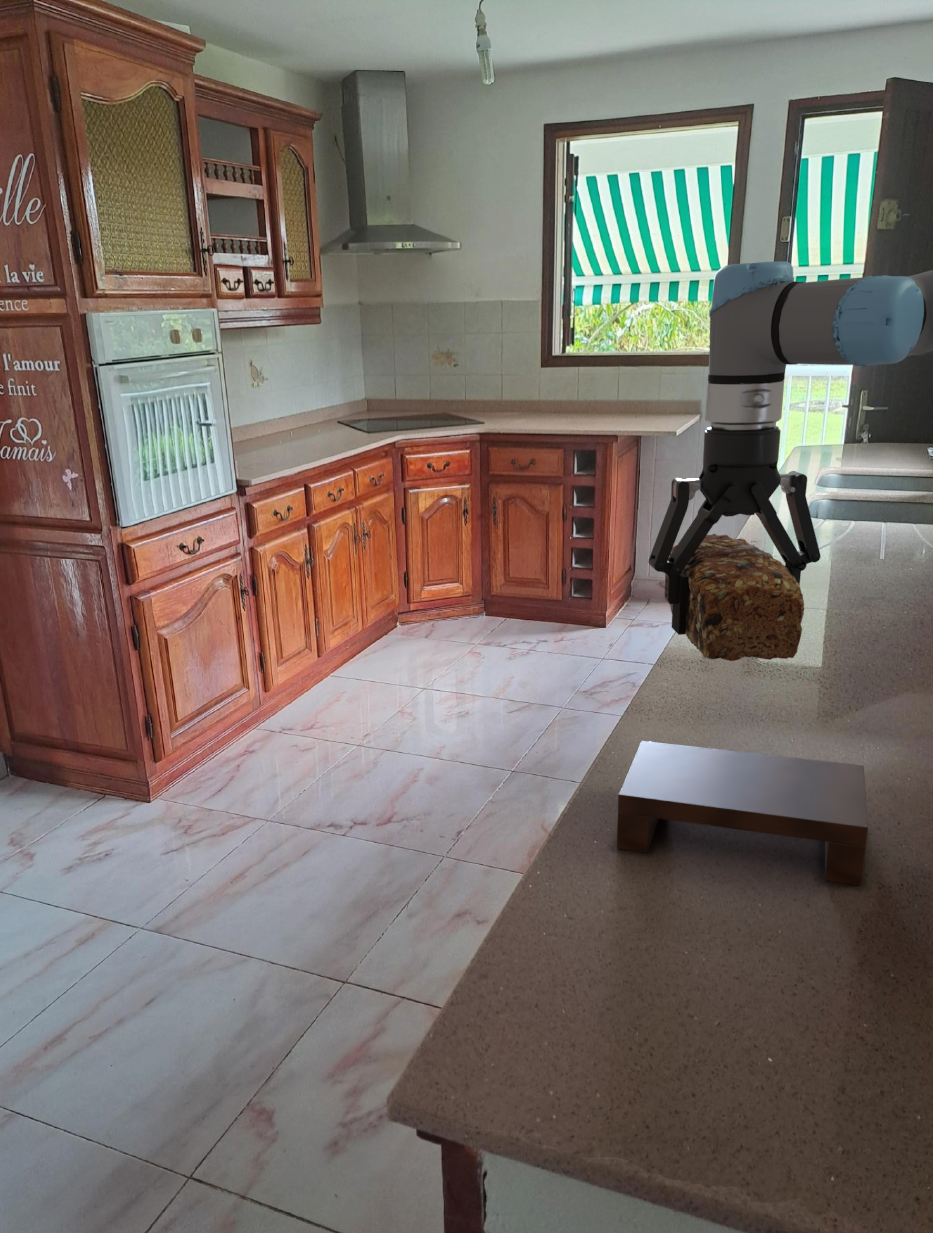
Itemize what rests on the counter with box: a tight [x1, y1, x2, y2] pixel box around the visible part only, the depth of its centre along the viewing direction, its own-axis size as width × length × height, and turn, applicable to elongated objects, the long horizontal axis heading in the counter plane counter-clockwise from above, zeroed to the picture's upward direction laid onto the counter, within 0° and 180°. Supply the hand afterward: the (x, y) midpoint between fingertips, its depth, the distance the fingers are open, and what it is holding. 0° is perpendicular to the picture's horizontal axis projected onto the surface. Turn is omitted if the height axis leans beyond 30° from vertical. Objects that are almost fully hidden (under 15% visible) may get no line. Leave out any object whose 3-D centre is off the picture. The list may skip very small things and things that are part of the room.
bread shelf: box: [616, 740, 869, 887], centre depth 95 cm, size 22×13×6 cm, turn 69°
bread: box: [669, 533, 805, 662], centre depth 106 cm, size 19×11×10 cm, turn 178°
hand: (729, 627), depth 107 cm, fingers closed on bread, 11 cm apart
